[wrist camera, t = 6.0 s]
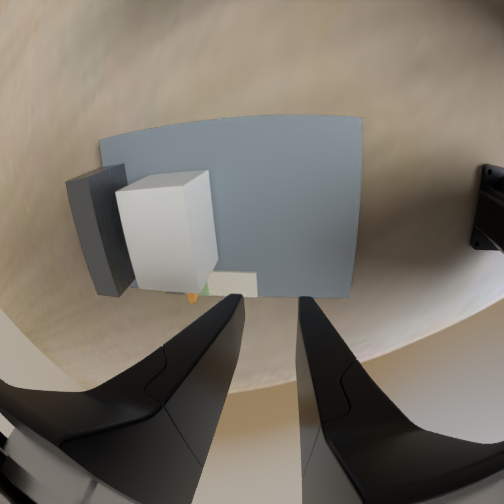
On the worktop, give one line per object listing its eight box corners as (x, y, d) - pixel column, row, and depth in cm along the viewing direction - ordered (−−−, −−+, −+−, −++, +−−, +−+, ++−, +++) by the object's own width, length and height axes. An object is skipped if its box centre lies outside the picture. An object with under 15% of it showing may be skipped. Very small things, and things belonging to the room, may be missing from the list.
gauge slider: (208, 169, 16) (182, 185, 12) (223, 294, 20) (207, 332, 16) (150, 174, 17) (115, 191, 13) (172, 291, 21) (151, 325, 17)
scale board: (357, 117, 14) (363, 117, 13) (346, 288, 20) (349, 301, 18) (108, 137, 17) (95, 140, 16) (137, 279, 23) (129, 289, 21)
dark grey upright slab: (124, 163, 17) (87, 177, 13) (145, 267, 20) (119, 297, 17) (102, 166, 17) (65, 181, 14) (125, 266, 21) (97, 294, 17)
